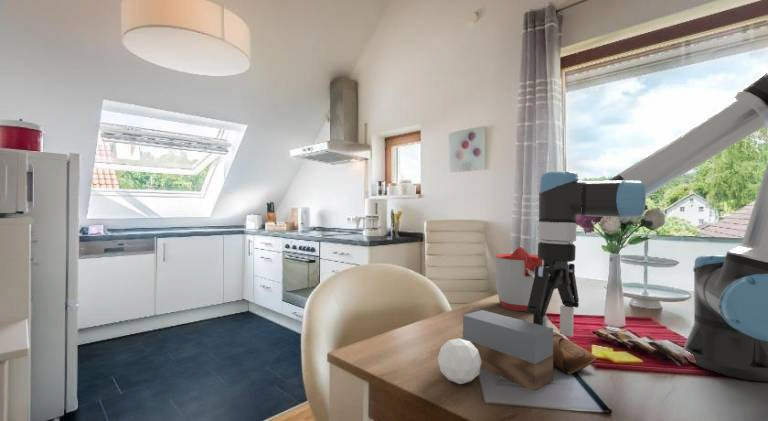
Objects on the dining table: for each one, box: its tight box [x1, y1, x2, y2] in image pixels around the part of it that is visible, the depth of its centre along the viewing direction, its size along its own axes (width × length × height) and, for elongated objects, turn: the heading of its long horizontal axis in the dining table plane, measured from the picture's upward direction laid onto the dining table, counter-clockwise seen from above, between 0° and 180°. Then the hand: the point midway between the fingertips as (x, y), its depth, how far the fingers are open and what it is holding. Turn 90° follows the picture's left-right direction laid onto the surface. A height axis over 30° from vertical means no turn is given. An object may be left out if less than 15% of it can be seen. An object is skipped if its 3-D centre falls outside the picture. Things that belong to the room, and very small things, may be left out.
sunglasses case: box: [553, 331, 598, 375], centre depth 80 cm, size 18×7×7 cm
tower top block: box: [462, 309, 554, 364], centre depth 72 cm, size 16×6×5 cm, turn 39°
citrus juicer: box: [495, 246, 544, 313], centre depth 118 cm, size 16×17×20 cm
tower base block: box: [462, 338, 554, 391], centre depth 72 cm, size 16×6×5 cm, turn 39°
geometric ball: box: [437, 337, 482, 385], centre depth 67 cm, size 8×8×8 cm
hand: (553, 340), depth 80 cm, fingers open, 12 cm apart
